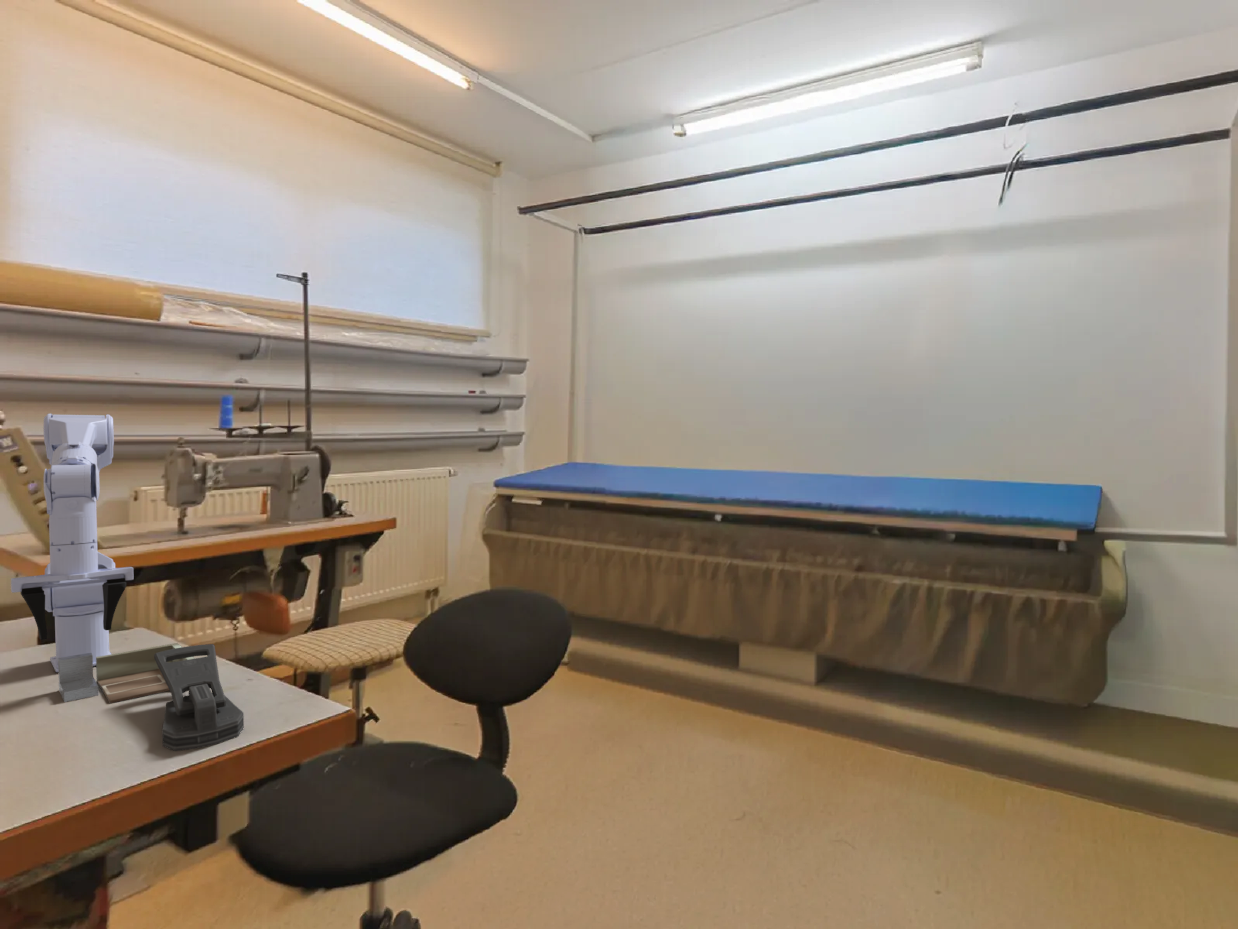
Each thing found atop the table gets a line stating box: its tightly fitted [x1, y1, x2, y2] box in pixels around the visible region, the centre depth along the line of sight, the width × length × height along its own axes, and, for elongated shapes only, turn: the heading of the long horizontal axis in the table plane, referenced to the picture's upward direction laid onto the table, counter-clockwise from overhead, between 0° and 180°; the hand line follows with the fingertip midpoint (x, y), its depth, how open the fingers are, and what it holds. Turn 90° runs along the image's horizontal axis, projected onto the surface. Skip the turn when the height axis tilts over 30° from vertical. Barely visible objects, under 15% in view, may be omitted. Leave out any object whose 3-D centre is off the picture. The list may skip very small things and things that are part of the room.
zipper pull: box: [154, 643, 245, 752], centre depth 97 cm, size 9×7×25 cm
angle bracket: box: [58, 653, 99, 703], centre depth 105 cm, size 6×4×5 cm, turn 44°
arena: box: [95, 642, 196, 704], centre depth 109 cm, size 12×11×4 cm
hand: (76, 633), depth 106 cm, fingers open, 7 cm apart
